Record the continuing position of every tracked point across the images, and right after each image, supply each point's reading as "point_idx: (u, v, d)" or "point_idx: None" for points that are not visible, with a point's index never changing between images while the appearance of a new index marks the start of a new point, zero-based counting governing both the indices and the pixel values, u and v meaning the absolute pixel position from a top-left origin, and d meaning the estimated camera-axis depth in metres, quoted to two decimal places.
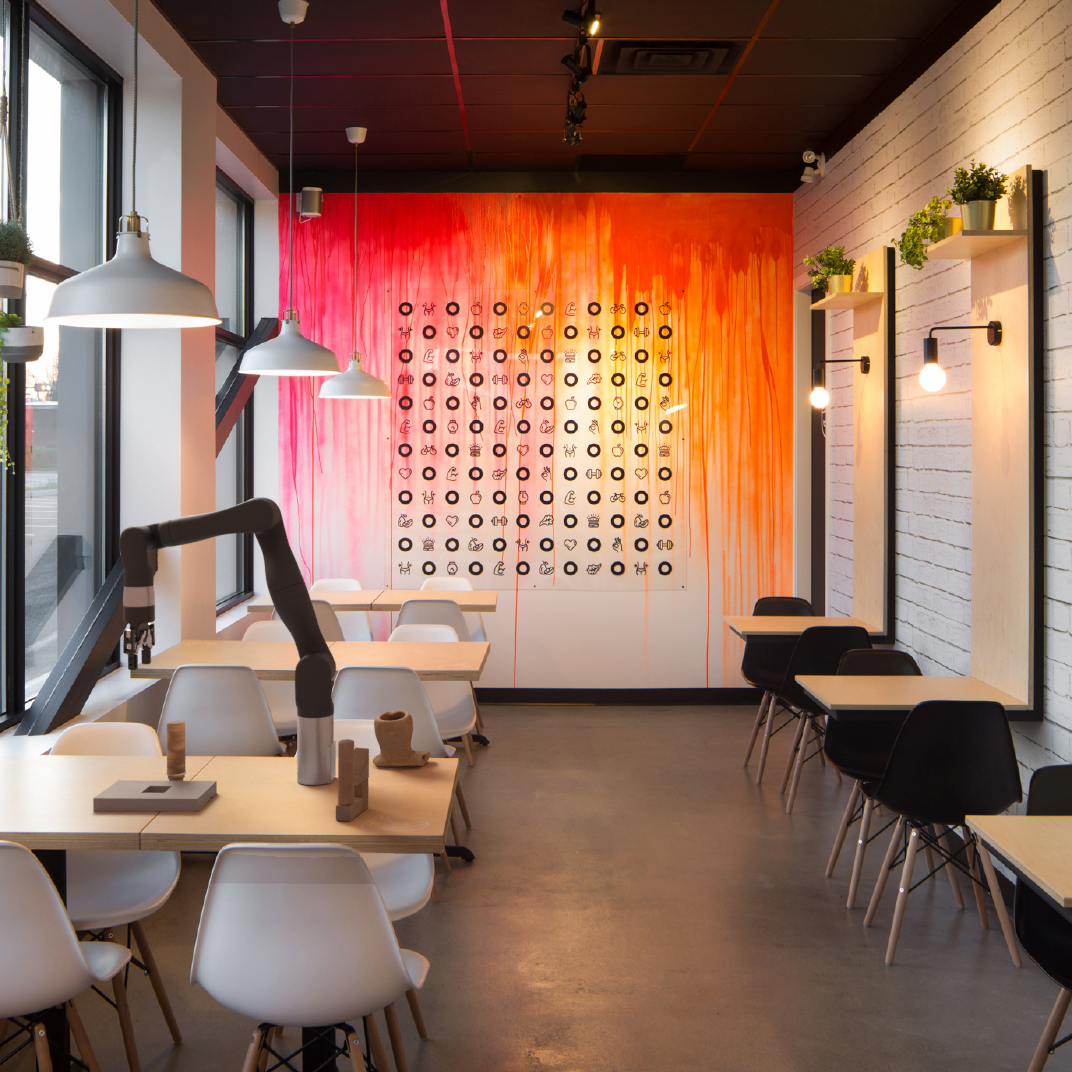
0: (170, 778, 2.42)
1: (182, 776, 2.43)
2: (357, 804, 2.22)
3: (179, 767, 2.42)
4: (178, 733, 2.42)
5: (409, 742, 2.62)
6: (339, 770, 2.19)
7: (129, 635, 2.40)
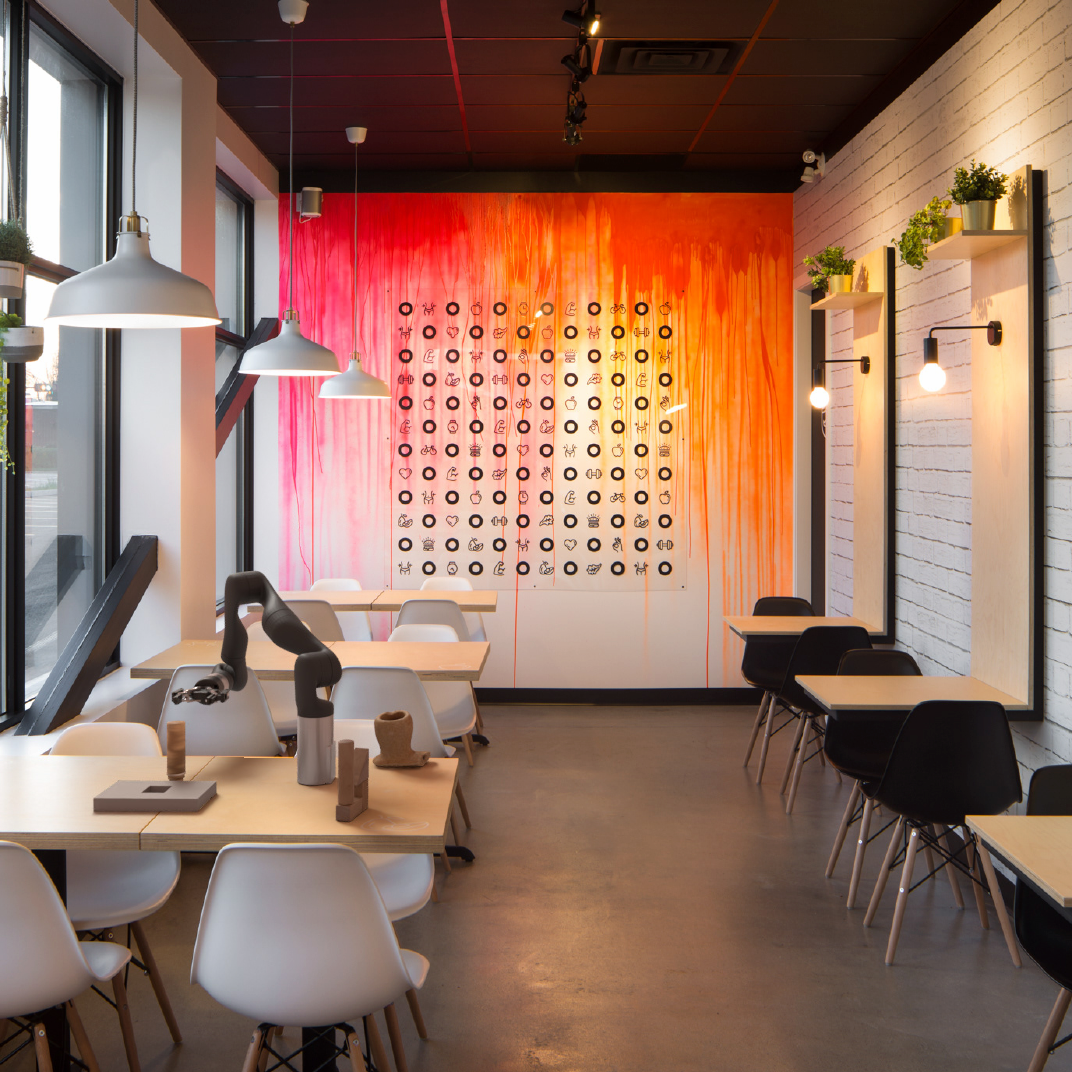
0: (170, 778, 2.42)
1: (182, 776, 2.43)
2: (357, 804, 2.22)
3: (179, 767, 2.42)
4: (178, 733, 2.42)
5: (409, 742, 2.62)
6: (339, 770, 2.19)
7: None
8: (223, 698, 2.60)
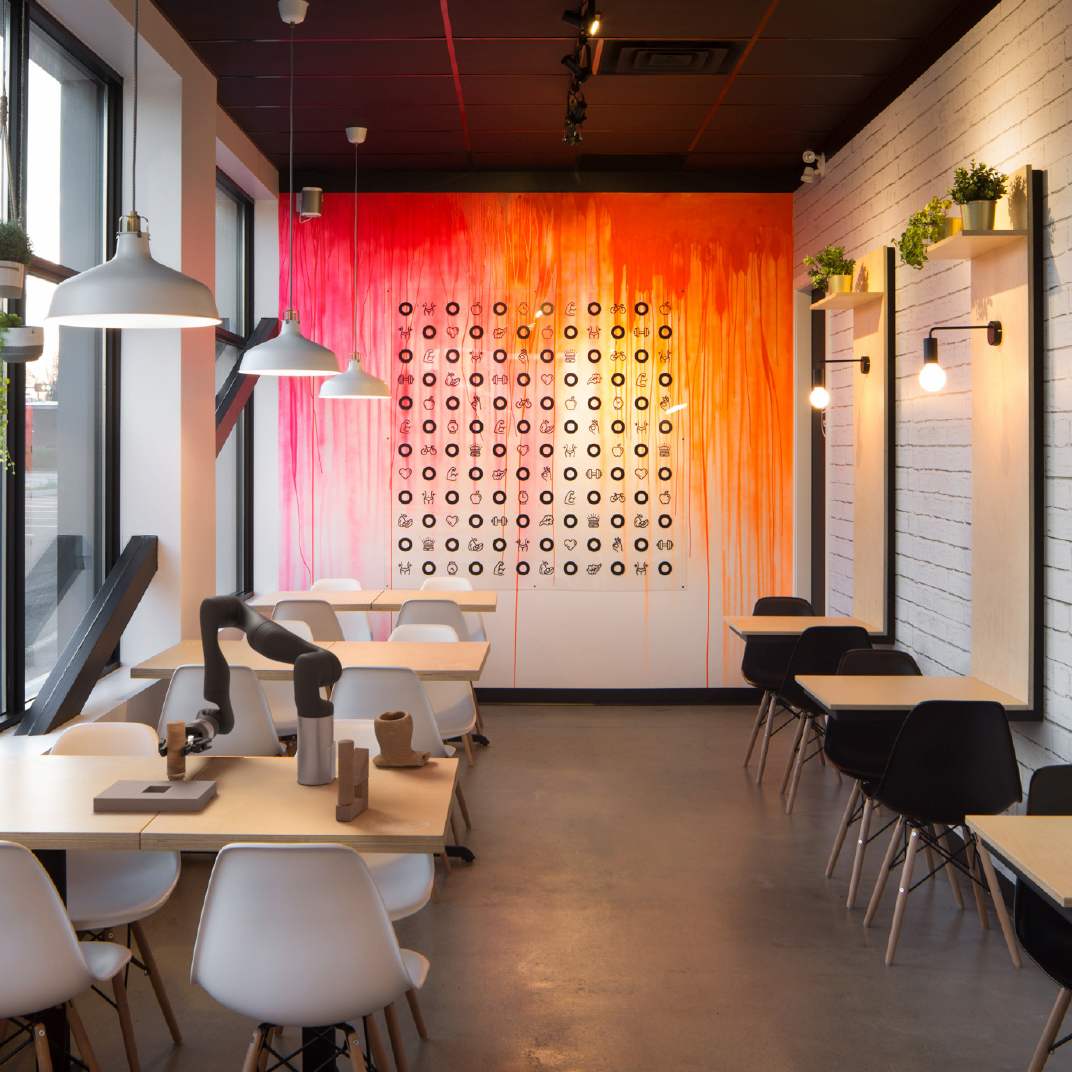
0: (170, 778, 2.42)
1: (182, 776, 2.43)
2: (357, 804, 2.22)
3: (179, 767, 2.42)
4: (178, 733, 2.42)
5: (409, 742, 2.62)
6: (339, 770, 2.19)
7: None
8: (198, 749, 2.46)
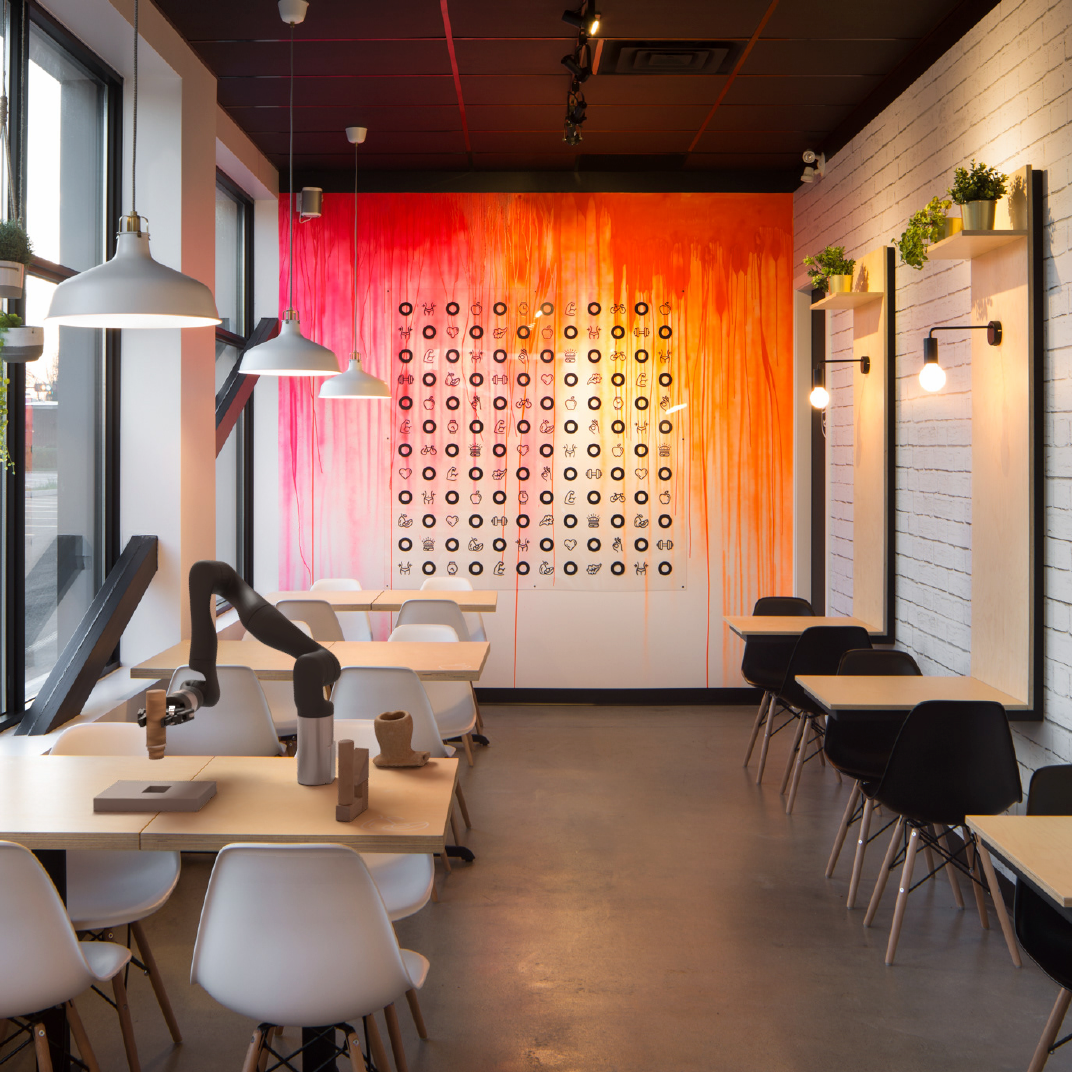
0: (150, 750, 2.29)
1: (162, 748, 2.30)
2: (357, 804, 2.22)
3: (159, 738, 2.29)
4: (158, 702, 2.28)
5: (409, 742, 2.62)
6: (339, 770, 2.19)
7: None
8: (179, 719, 2.32)
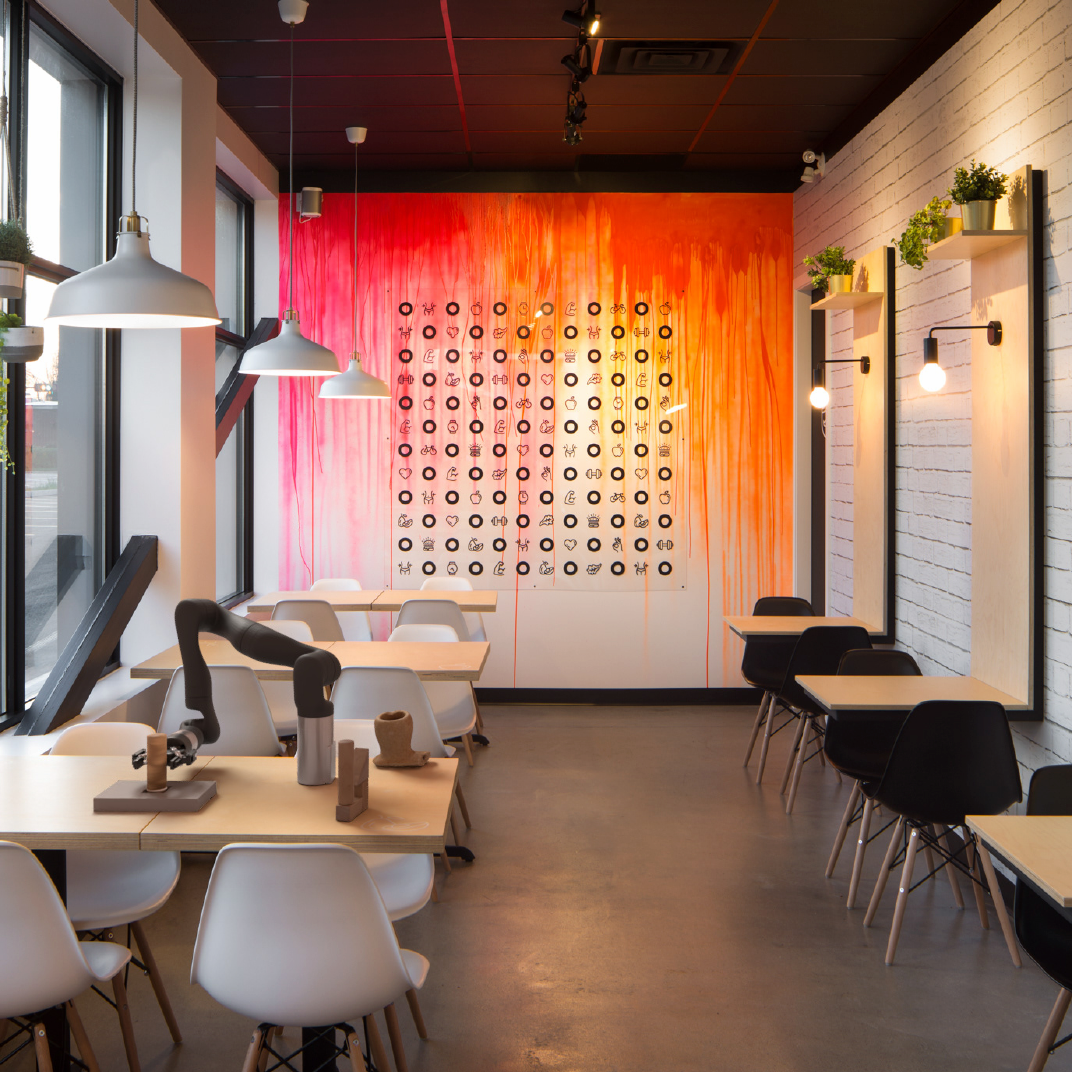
0: None
1: (163, 792, 2.30)
2: (357, 804, 2.22)
3: (160, 782, 2.29)
4: (159, 746, 2.29)
5: (409, 742, 2.62)
6: (339, 770, 2.19)
7: None
8: (189, 761, 2.34)
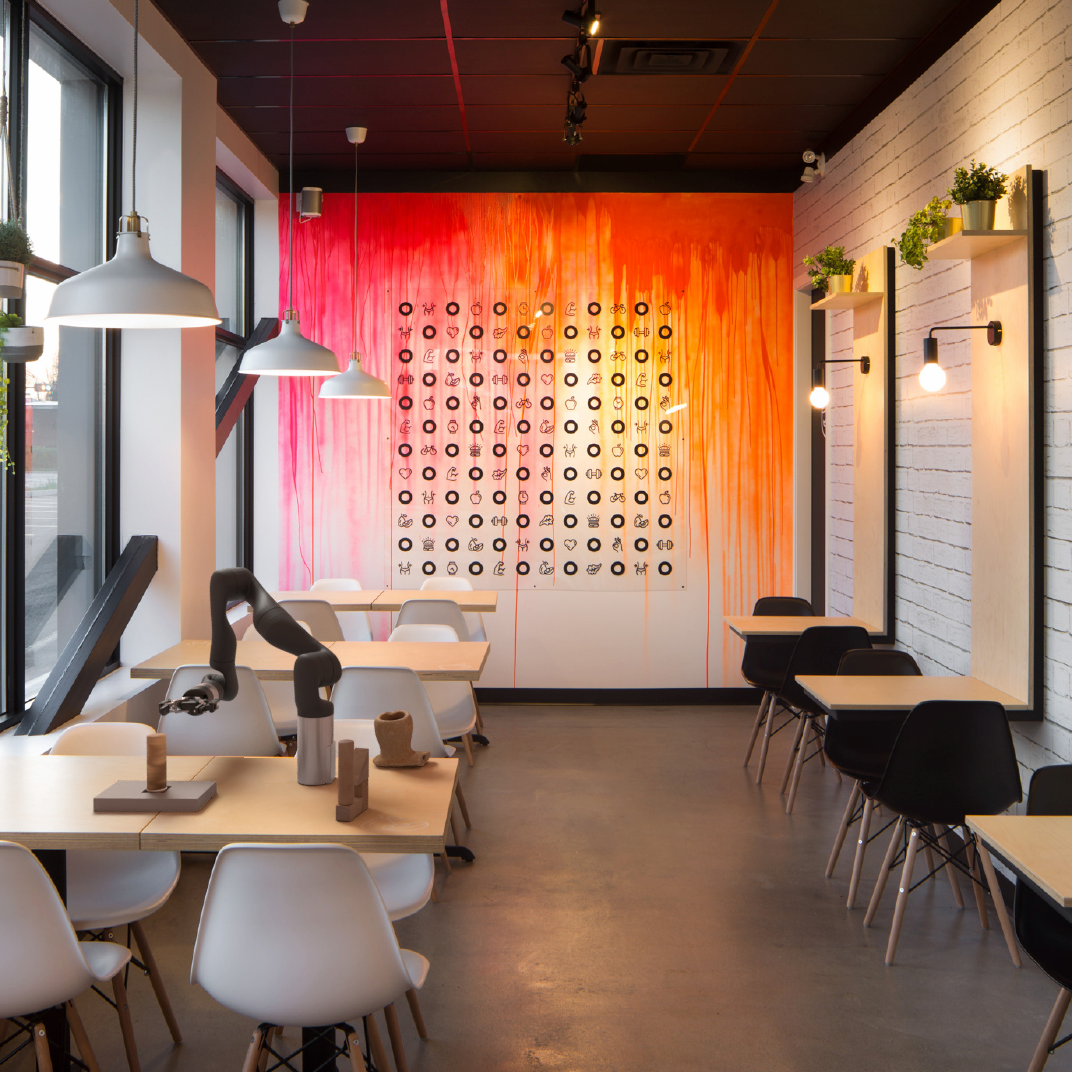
0: None
1: (163, 792, 2.30)
2: (357, 804, 2.22)
3: (160, 782, 2.29)
4: (159, 747, 2.29)
5: (409, 742, 2.62)
6: (339, 770, 2.19)
7: None
8: (212, 708, 2.50)
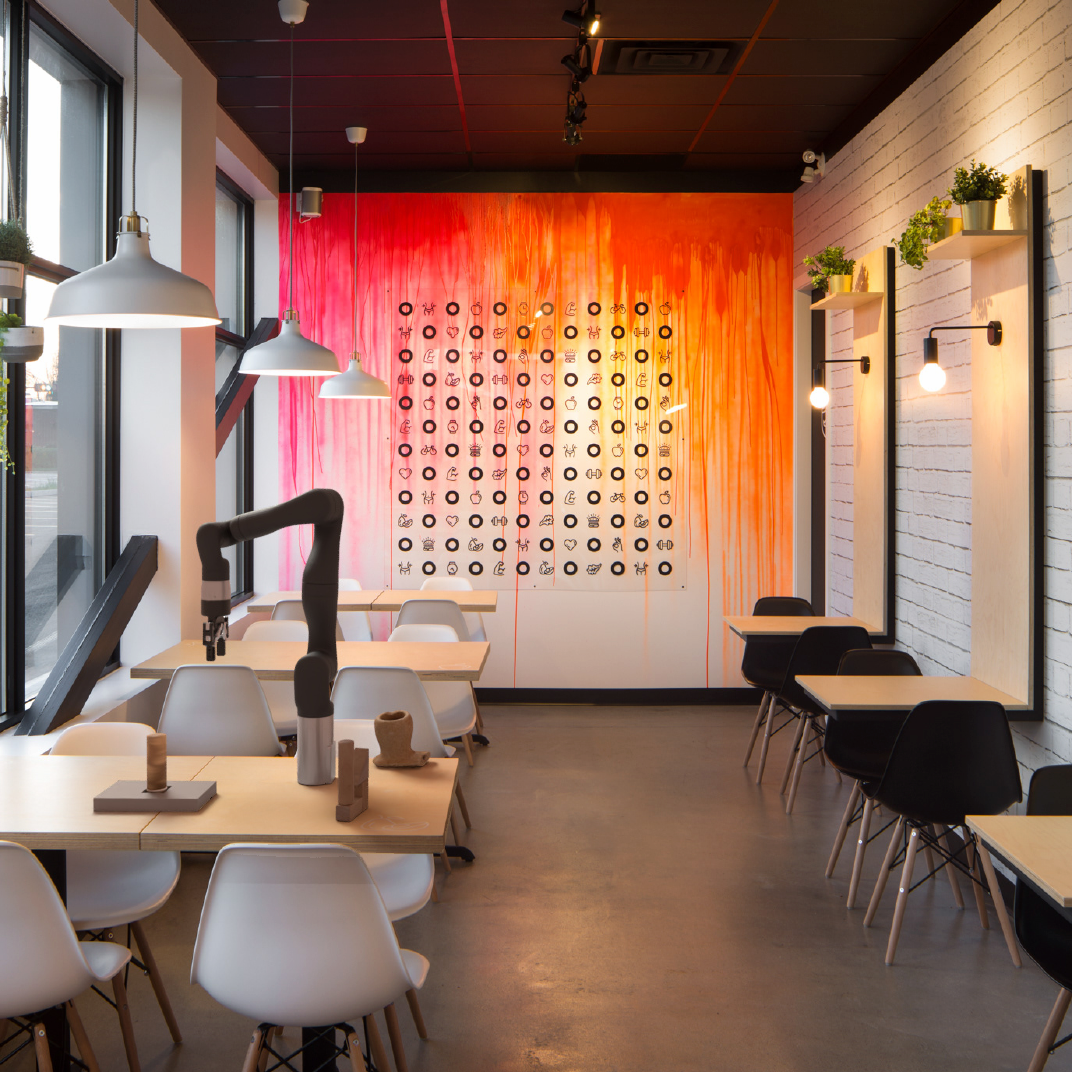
0: None
1: (163, 792, 2.30)
2: (357, 804, 2.22)
3: (160, 782, 2.29)
4: (159, 746, 2.29)
5: (409, 742, 2.62)
6: (339, 770, 2.19)
7: (208, 627, 2.49)
8: None
